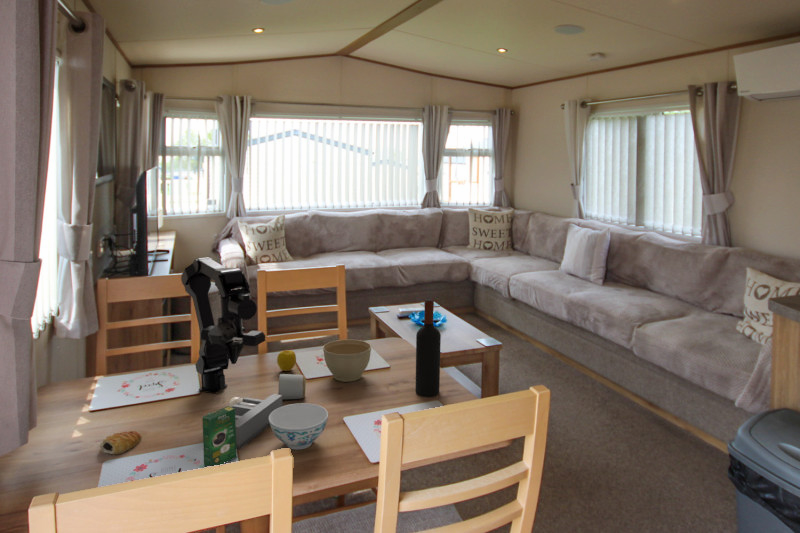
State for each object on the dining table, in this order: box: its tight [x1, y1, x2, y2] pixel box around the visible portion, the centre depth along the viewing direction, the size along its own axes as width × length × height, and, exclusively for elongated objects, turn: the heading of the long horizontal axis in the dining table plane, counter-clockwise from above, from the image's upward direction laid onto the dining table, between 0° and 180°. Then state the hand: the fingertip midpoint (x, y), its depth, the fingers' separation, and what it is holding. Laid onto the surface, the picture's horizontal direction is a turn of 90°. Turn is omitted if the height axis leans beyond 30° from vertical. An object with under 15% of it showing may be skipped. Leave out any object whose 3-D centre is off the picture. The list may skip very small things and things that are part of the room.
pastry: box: [99, 430, 142, 455], centre depth 145 cm, size 9×7×4 cm
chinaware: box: [269, 402, 329, 450], centre depth 146 cm, size 15×15×8 cm
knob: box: [227, 396, 257, 407], centre depth 161 cm, size 9×5×5 cm, turn 71°
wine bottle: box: [414, 298, 442, 398], centre depth 177 cm, size 8×8×30 cm
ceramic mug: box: [277, 373, 307, 401], centre depth 176 cm, size 11×8×8 cm
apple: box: [276, 349, 297, 372], centre depth 197 cm, size 6×6×8 cm
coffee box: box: [201, 405, 238, 468], centre depth 136 cm, size 8×3×13 cm, turn 147°
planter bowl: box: [322, 339, 372, 383], centre depth 191 cm, size 16×16×11 cm
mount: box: [232, 393, 283, 450], centre depth 155 cm, size 11×21×6 cm, turn 161°
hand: (233, 363), depth 167 cm, fingers closed
